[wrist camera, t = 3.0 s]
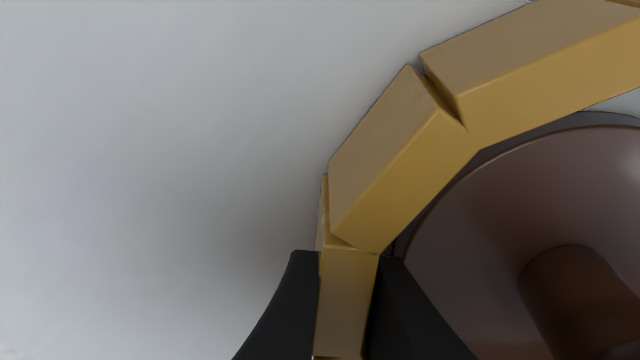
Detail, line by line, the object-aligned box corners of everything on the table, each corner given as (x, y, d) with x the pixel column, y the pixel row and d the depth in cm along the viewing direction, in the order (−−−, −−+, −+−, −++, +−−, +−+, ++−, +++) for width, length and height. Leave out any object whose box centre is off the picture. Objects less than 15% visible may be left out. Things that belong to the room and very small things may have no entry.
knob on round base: (719, 313, 14) (989, 566, 8) (444, 392, 16) (513, 644, 10) (702, 49, 10) (1179, 184, 5) (343, 192, 12) (363, 418, 6)
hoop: (797, 323, 14) (914, 417, 12) (406, 430, 17) (423, 528, 14) (819, -129, 9) (1057, -160, 6) (229, 137, 11) (200, 202, 9)
